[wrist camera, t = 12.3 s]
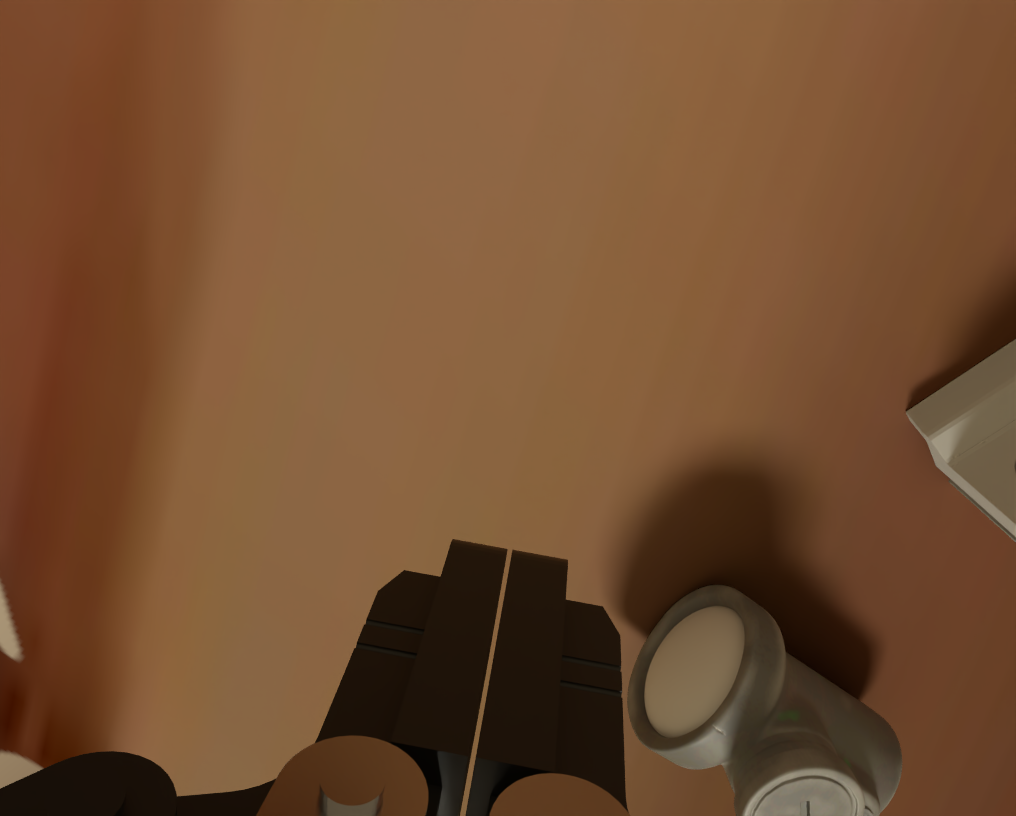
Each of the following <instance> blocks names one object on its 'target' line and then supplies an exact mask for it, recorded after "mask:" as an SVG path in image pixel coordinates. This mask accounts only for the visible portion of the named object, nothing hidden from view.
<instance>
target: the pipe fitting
mask: <svg viewBox="0 0 1016 816" xmlns="http://www.w3.org/2000/svg"><path fill="white" fill-rule="evenodd" d="M627 703H628V713H629V717H630V721H631V724H632V727H633V730H634V732H635V734H636V736H637V737H638V739H639V740H640V742H641V743H642V744H643V745H644V746H646V747H647V748H649V749H650V750H652V751H654V752H656V753H657V754H659V755H661V756H663V757H664V758H666V759H668V760H670V761H671V762H673V763H675V764H677V765H679V766H682V767H684V768H688V769H706V768H710V767H714V766H717V765H719V764H721V765H723V767H724V769H725V772H726V774H727V777H728V779H729V782H730V785H731V787H732V789H733V791H734V793H735V798H734V808H735V813H736V816H879V815H880V813H881V812H882V811H883V810H884V808H885V807H886V806H887V805H888V803H889V802H890V801H891V799H892V797H893V796H894V794H895V792H896V789H897V787H898V784H899V781H900V777H901V772H902V753H901V748H900V744H899V741H898V739H897V736H896V734H895V732H894V731H893V729H892V728H891V726H890V725H889V724H888V723H887V721H886V720H884V719H883V718H882V717H881V716H880V715H879V714H877V713H876V712H875V711H873V710H872V709H870V708H869V707H868V706H866V705H865V704H863V703H862V702H860V701H859V700H857V699H856V698H854V697H853V696H851V695H850V694H848V693H847V692H845V691H844V690H842V689H841V688H839V687H838V686H836V685H835V684H833V683H832V682H830V681H829V680H827V679H826V678H824V677H823V676H821V675H820V674H818V673H817V672H815V671H814V670H812V669H811V668H809V667H808V666H806V665H805V664H803V663H802V662H800V661H799V660H797V659H796V658H794V657H793V656H791V655H790V654H788V653H787V652H785V645H784V640H783V637H782V633H781V631H780V629H779V626H778V625H777V623H776V621H775V620H774V619H773V617H772V616H771V615H770V614H769V613H768V612H767V611H766V610H765V609H764V608H762V607H761V606H760V605H758V604H757V603H755V602H754V601H753V600H751V599H750V598H748V597H747V596H746V595H744V594H743V593H741V592H740V591H738V590H736V589H734V588H732V587H729V586H725V585H710V586H706V587H702V588H699V589H697V590H695V591H693V592H691V593H689V594H688V595H686V596H685V597H683V598H682V599H680V600H679V601H678V602H677V603H675V604H674V605H673V606H672V607H671V608H670V609H669V610H668V611H667V612H666V613H665V615H664V616H663V617H662V618H661V620H660V621H659V622H658V624H657V625H656V626H655V628H654V629H653V631H652V632H651V633H650V635H649V637H648V638H647V640H646V642H645V643H644V645H643V647H642V649H641V651H640V653H639V655H638V658H637V660H636V663H635V665H634V668H633V671H632V674H631V678H630V682H629V687H628V697H627Z"/></svg>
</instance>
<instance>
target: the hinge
mask: <svg viewBox="0 0 1016 816" xmlns="http://www.w3.org/2000/svg"><path fill="white" fill-rule="evenodd" d="M906 414H907V416H908V418H909V420H910V421H911V422H912V424H913V425H914V426H915V427H916V429H917V430H918V431H919V432H920V433H921V435H922V436H923V437H924V438H925V440H926V441H927V443H928V446H929V449H930V451H931V454H932V457H933V459H934V462H935V464H936V466H937V467H938V468H939V469H940V470H941V471H942V472H943V473H944V474H946V475H947V476H948V477H949V478H950V479H951V480H949V482H950V483H951V484H952V485H953V486H954V487H955V488H956V489H957V490H959V491H960V492H961V493H962V494H963V495H964V496H965V497H966V498H967V499H969V500H970V501H971V502H972V503H973V504H974V505H975V506H976V507H977V508H978V509H980V510H981V511H982V512H983V513H984V514H985V515H986V516H987V517H988V518H990V519H991V520H992V521H993V522H994V523H995V524H996V525H997V526H998V527H1000V528H1001V529H1002V530H1003V531H1004V532H1005V533H1006V534H1007V535H1008V536H1010V537H1011V538H1012V539H1013V540H1014V541H1015V542H1016V339H1015V340H1013V341H1012V342H1010V343H1009V344H1007V345H1006V346H1004V347H1003V348H1001V349H1000V350H998V351H997V352H995V353H994V354H992V355H991V356H989V357H988V358H986V359H985V360H983V361H982V362H980V363H979V364H977V365H976V366H974V367H973V368H971V369H970V370H968V371H967V372H965V373H964V374H962V375H961V376H959V377H958V378H956V379H955V380H953V381H952V382H950V383H948V384H947V385H945V386H944V387H942V388H941V389H939V390H938V391H936V392H935V393H933V394H932V395H930V396H929V397H927V398H926V399H924V400H923V401H921V402H920V403H918V404H917V405H915V406H914V407H912V408H911V409H909V410H908V411H906Z"/></svg>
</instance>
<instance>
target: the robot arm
mask: <svg viewBox="0 0 1016 816" xmlns="http://www.w3.org/2000/svg"><path fill="white" fill-rule="evenodd" d="M506 555H507V549H504V548H499V547H493V546H488V545H482V544H477V543H471V542H466V541H460V540H455V539H453V540H452V542H451V545H450V548H449V551H448V554H447V558H446V561H445V564H444V567H443V571H442V574H441V577H438V576H433V575H427V574H422V573H417V572H411V571H406V570H404V571H403V572H401V573H400V574H399V575H398V576H396V577H395V578H394V579H393V580H391V581H390V582H389V583H388V584H386V585H385V586H384V587H383V588H381V589H380V590H379V591H378V593H377V595H376V597H375V600H374V602H373V605H372V607H371V610H370V612H369V614H368V617H367V620H366V624H364V627H363V629H362V631H361V634H360V636H359V639H358V641H357V645H356V648H354V651H353V653H352V656H351V658H350V660H349V663H348V665H347V668H346V670H345V673H344V675H343V677H342V680H341V682H340V685H339V687H338V690H337V692H336V694H335V697H334V699H333V702H332V704H331V707H330V709H329V711H328V714H327V716H326V719H325V721H324V724H323V726H322V728H321V731H320V733H319V736H318V738H317V740H316V742H315V743H314V744H312V745H310V746H308V747H306V748H305V749H303V750H301V751H300V752H299V753H297V754H296V755H295V756H293V757H292V758H291V759H290V760H289V761H288V762H287V764H286V765H285V766H284V767H283V769H282V770H281V772H280V773H279V775H278V777H277V778H276V779H274V780H272V781H270V782H267V783H265V784H262V785H260V786H256V787H253V788H249V789H245V790H239V791H232V792H224V793H212V794H201V795H189V796H178V797H177V794H176V791H175V787H174V784H173V782H172V781H171V779H170V777H169V776H168V774H167V773H166V772H165V771H164V770H163V769H162V768H161V767H160V766H158V765H157V764H155V763H154V762H152V761H151V760H148V759H146V758H144V757H141V756H139V755H134V754H130V753H125V752H114V751H111V752H95V753H89V754H83V755H79V756H76V757H72V758H68V759H66V760H63V761H61V762H58V763H56V764H53V765H51V766H49V767H47V768H44V769H42V770H40V771H38V772H36V773H34V774H32V775H29V776H27V777H25V778H23V779H21V780H18V781H16V782H14V783H12V784H9V785H7V786H5V787H3V788H1V789H0V816H460V812H461V806H462V801H463V795H464V790H465V784H466V779H467V774H468V768H469V763H470V757H471V752H472V746H473V741H474V736H475V730H476V725H477V719H478V714H479V709H480V703H481V698H482V692H483V687H484V681H485V676H486V670H487V664H488V659H489V653H490V647H491V642H492V636H493V630H494V624H495V619H496V613H497V607H498V601H499V596H500V590H501V584H502V578H503V573H504V567H505V561H506ZM567 569H568V560H566V559H560V558H555V557H549V556H544V555H538V554H533V553H527V552H522V551H516V550H512V556H511V562H510V567H509V573H508V579H507V584H506V590H505V596H504V601H503V607H502V613H501V618H500V624H499V630H498V635H497V641H496V646H495V652H494V658H493V663H492V669H491V675H490V680H489V686H488V692H487V697H486V703H485V709H484V714H483V720H482V726H481V731H480V737H479V743H478V748H477V754H476V760H475V765H474V771H473V777H472V782H471V788H470V794H469V799H468V805H467V811H466V816H630V815H629V812H628V809H627V803H626V793H625V764H624V734H623V704H622V698H621V694H622V675H621V672H620V670H621V645H620V634H619V633H618V631H617V629H616V628H615V626H614V624H613V623H612V621H611V619H610V618H609V616H608V614H607V613H606V611H605V609H604V608H603V606H597V605H592V604H586V603H581V602H575V601H570V600H566V585H567Z"/></svg>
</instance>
